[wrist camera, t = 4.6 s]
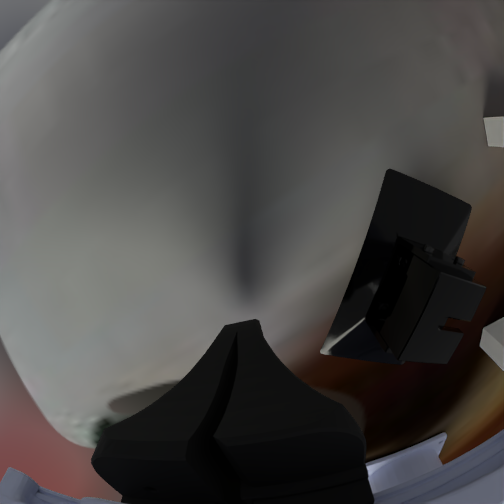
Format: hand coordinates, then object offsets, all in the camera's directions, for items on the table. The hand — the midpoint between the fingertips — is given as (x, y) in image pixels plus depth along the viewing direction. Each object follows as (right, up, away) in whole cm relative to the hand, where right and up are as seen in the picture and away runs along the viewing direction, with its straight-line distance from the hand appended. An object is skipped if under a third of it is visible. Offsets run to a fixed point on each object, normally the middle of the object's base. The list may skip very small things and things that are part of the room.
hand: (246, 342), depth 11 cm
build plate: (+7, +2, +2) cm, 8 cm away
